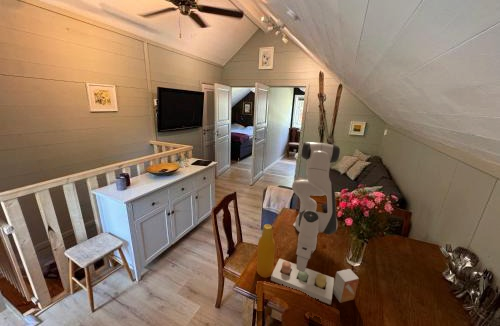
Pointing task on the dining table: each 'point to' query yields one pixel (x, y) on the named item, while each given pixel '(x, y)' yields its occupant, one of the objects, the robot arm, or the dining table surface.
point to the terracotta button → (286, 268)
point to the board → (303, 286)
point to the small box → (345, 285)
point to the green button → (302, 276)
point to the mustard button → (320, 281)
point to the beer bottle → (266, 252)
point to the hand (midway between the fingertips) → (303, 265)
